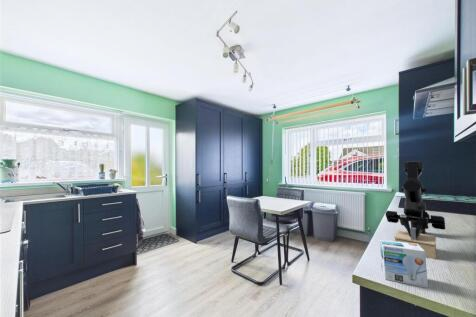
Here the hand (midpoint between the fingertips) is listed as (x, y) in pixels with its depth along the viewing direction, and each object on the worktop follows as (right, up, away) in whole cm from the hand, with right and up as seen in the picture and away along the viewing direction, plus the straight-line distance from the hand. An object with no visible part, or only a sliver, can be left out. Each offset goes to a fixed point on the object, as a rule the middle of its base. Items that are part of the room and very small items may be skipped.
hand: (413, 236), depth 79 cm
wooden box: (+4, -7, +4) cm, 9 cm away
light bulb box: (-19, -7, -17) cm, 26 cm away
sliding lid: (+4, -2, +4) cm, 6 cm away
